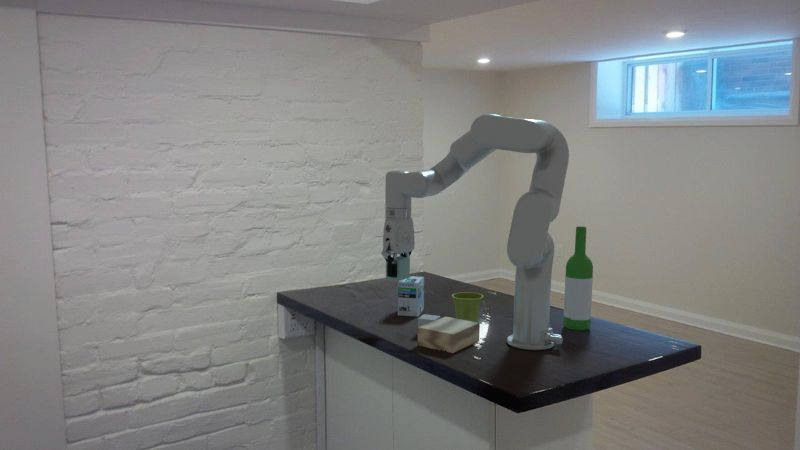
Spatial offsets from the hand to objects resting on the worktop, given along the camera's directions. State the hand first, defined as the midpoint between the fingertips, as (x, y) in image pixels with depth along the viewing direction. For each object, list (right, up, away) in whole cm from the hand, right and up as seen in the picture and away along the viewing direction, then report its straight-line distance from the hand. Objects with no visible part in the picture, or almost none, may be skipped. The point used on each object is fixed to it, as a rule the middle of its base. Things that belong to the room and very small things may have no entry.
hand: (397, 274), depth 207 cm
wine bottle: (+53, -16, +1) cm, 55 cm away
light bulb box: (+4, -13, +17) cm, 22 cm away
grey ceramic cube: (+9, -16, -7) cm, 20 cm away
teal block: (0, -1, 0) cm, 1 cm away
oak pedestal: (+14, -17, -15) cm, 27 cm away
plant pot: (+21, -15, +4) cm, 26 cm away
